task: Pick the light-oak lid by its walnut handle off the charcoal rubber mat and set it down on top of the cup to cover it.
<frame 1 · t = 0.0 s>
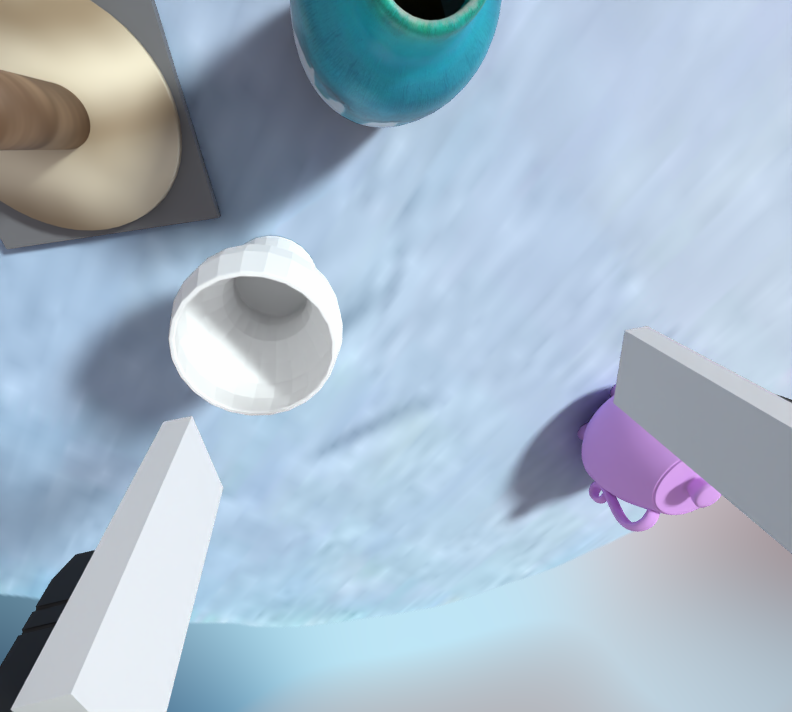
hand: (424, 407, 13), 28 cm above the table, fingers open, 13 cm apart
cup: (275, 278, 38), on the table
teapot: (625, 412, 54), on the table
vase: (366, 52, 32), on the table
lid: (65, 117, 29), point 1 cm above the table, touching mat
mat: (72, 118, 30), on the table
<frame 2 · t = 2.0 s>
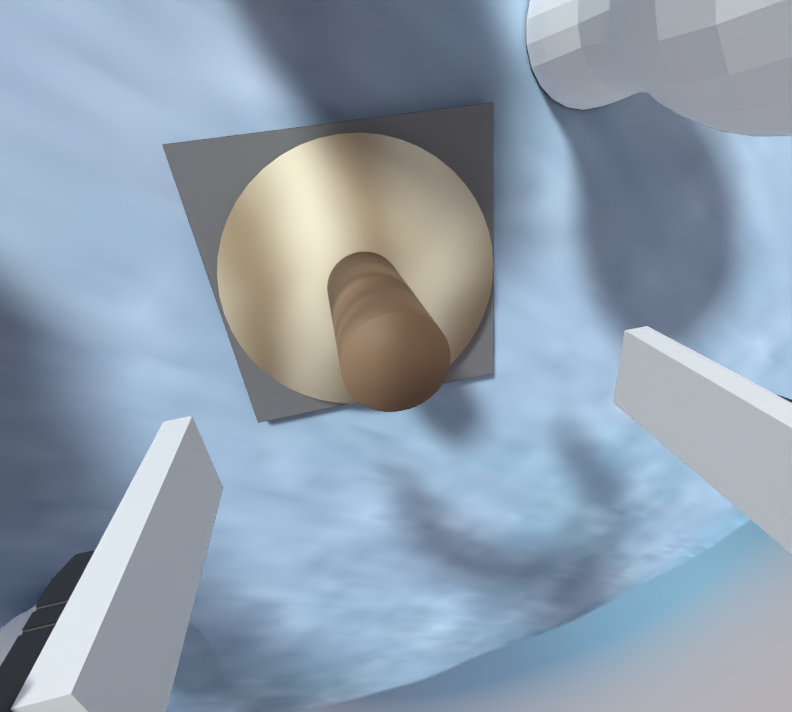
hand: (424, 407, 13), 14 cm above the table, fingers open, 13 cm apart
figurine: (93, 609, 33), on the table
cup: (593, 22, 21), on the table
lid: (361, 281, 24), point 1 cm above the table, touching mat
mat: (359, 276, 25), on the table
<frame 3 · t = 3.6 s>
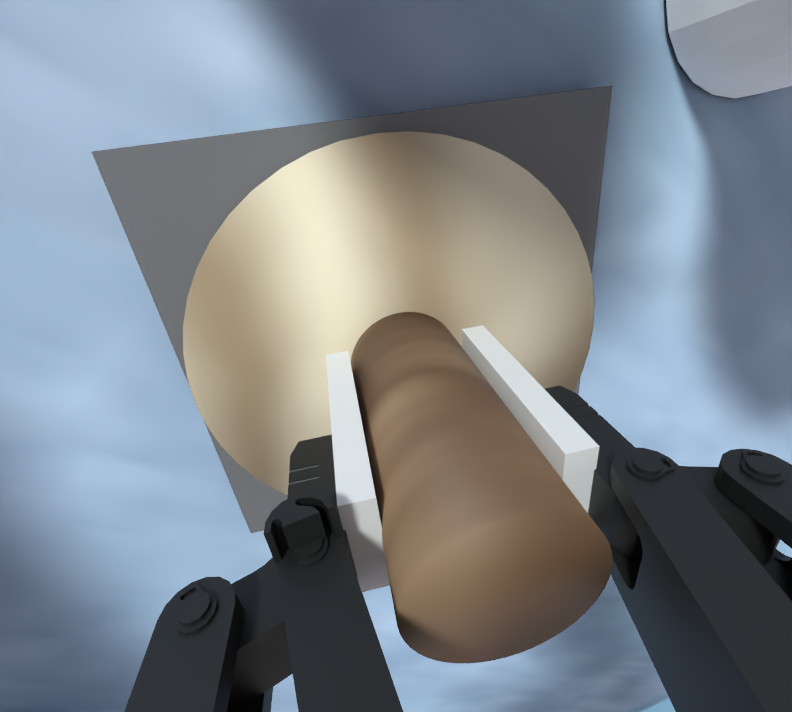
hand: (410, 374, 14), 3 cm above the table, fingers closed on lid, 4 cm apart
lid: (398, 349, 16), point 1 cm above the table, touching gripper
mat: (394, 338, 17), on the table
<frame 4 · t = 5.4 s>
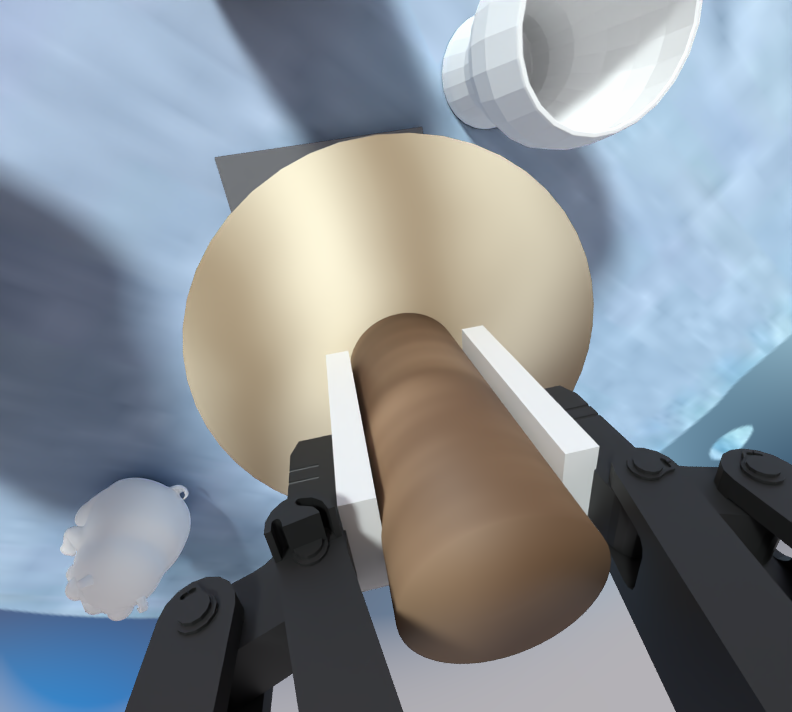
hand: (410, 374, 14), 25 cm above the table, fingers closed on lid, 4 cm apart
figurine: (153, 495, 45), on the table
cup: (488, 73, 33), on the table
lid: (398, 349, 16), point 23 cm above the table, touching gripper
mat: (340, 243, 36), on the table
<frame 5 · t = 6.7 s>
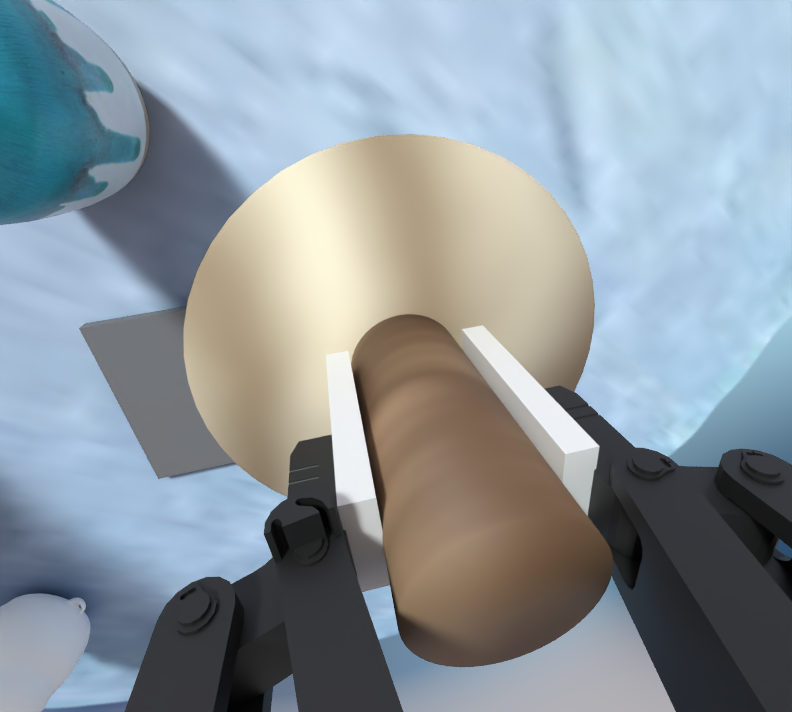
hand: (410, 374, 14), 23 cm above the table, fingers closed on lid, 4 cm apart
figurine: (55, 603, 46), on the table
vase: (83, 114, 27), on the table
lid: (399, 351, 16), point 21 cm above the table, touching gripper
mat: (218, 387, 38), on the table
when the fingers open (19 cm above the table, at t = 7.4 s): lid drops 3 cm, resting on cup.
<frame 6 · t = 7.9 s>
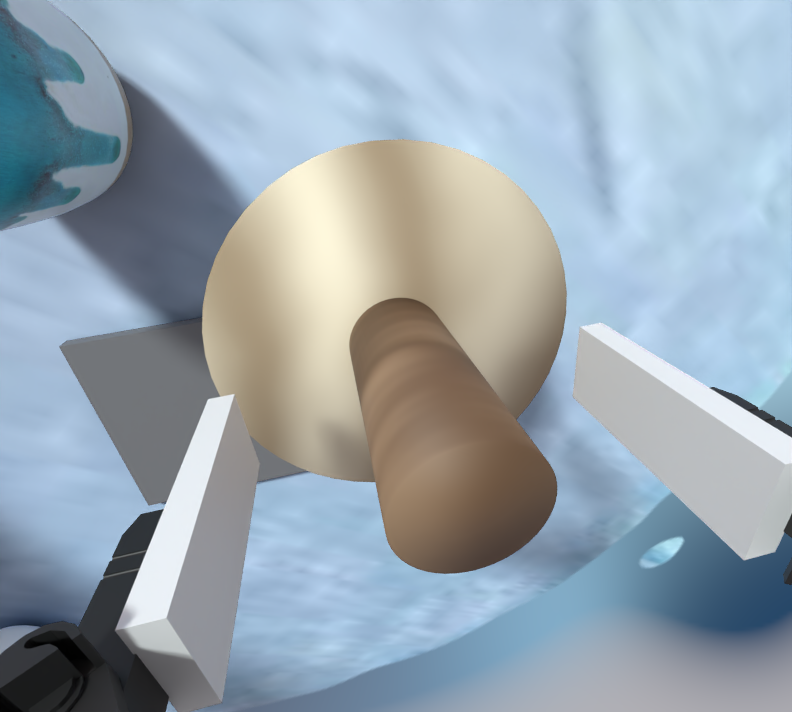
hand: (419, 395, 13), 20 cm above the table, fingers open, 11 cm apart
figurine: (40, 634, 43), on the table
vase: (59, 110, 24), on the table
lid: (392, 332, 18), point 15 cm above the table, touching cup
mat: (213, 408, 35), on the table
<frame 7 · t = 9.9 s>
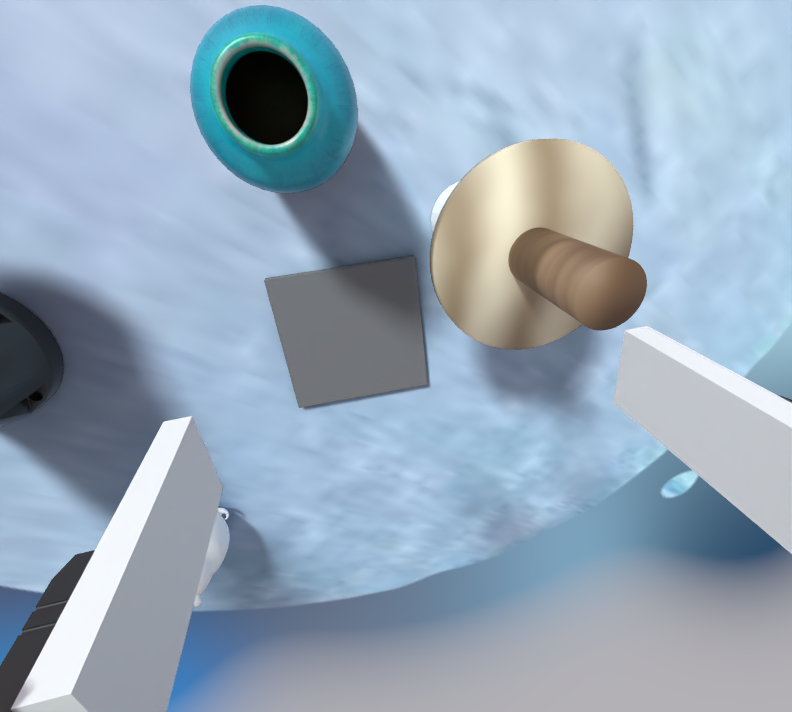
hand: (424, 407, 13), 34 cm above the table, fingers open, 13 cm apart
figurine: (200, 514, 57), on the table
cup: (465, 218, 44), on the table, touching lid
vase: (291, 119, 38), on the table
lid: (527, 252, 31), point 15 cm above the table, touching cup
mat: (352, 334, 48), on the table
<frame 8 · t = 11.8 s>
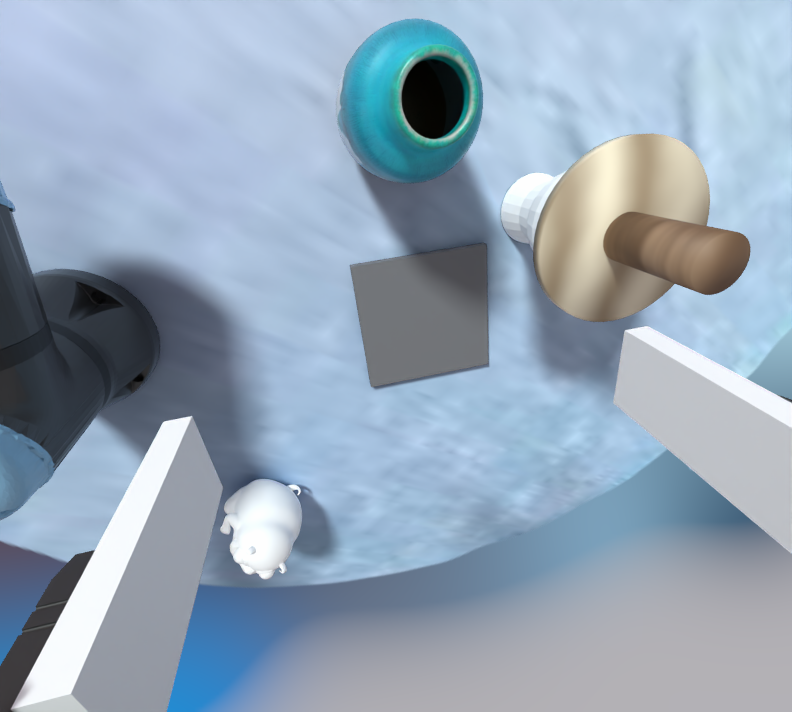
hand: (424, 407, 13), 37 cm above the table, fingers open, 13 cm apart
figurine: (270, 492, 60), on the table
cup: (531, 208, 48), on the table, touching lid
vase: (385, 118, 41), on the table
lid: (616, 234, 35), point 15 cm above the table, touching cup
mat: (423, 317, 52), on the table
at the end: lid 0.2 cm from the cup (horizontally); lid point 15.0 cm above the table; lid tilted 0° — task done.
